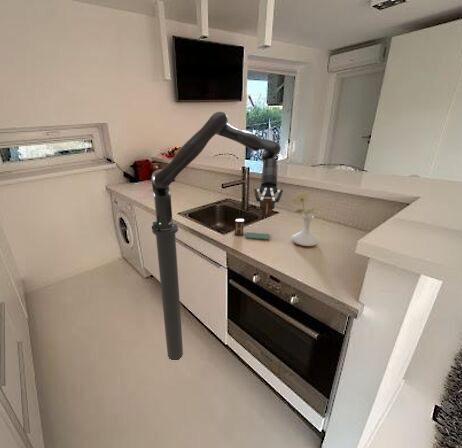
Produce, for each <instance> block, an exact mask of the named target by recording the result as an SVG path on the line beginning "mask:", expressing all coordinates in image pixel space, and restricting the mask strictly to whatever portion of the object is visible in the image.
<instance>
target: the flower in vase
mask: <svg viewBox="0 0 462 448" xmlns="http://www.w3.org/2000/svg"><path fill="white" fill-rule="evenodd" d="M310 199H311V194H310V193H308V192H307V191H304V192H302V191H301V192H300V193H297V195H295V196H294V198H293V199H292V204H294V205H297V206H300V205H302V209H301V208H299V209H297V210H295V211H294V212H293V213H295V214H302V213H303V212H304V213H303V214H302V215H301V216H302V218H303V228H302V230H301V231H299V232H297V233H294V234H293V235H292V236H291V241H292V242H293V243H294V244H297V245H299V246H302V247H313V246H315V245H318V243H319V240H318V238H317V237H316V236H315V235H314V234H313V233H312V232H311V231H310V225H311V222H312V220H313V219H314V218H315V215H313V214H312V213H313V212H314V211H315V207H312V208H309V209H306V210H305V203H307V202H308V201H309V200H310Z"/></svg>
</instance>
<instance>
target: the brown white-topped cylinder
mask: <svg viewBox="0 0 462 448" xmlns="http://www.w3.org/2000/svg"><path fill="white" fill-rule="evenodd" d="M271 206H272V199H271V198H264V199H263V209H261V210H262V211H261V212H262V213H261V217H264V218H265V217H266V218H271V216H272V210H271Z"/></svg>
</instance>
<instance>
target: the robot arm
mask: <svg viewBox="0 0 462 448" xmlns="http://www.w3.org/2000/svg"><path fill="white" fill-rule="evenodd" d="M228 122H229V119H228V115H227V113H225V112H224V111H217V112H214V113H213V114H212V115H211V116H210V117H209V118H208V119H207V121H206V122H205V124H203V126H201V128H200V129H199V130H198V131H197V132H195V133H194V134H193V135H192V136H191V137H189V139H188V140H187V141H186V142H185V143H184V144H183V145H182V146H181V147H180V148H179V149H178V151H176V153H175V155H174V157H173V158H172V160H171V161H170V162H169V163H168V164H167V165H166V166H165V167H164V168H162V169H160V168H159V169H156V170H154V171H153V173H152V174H151V186H152V194H153V201H154V208H155V209H154V216H155V221H152V225H151V230H152V229H154V230H155V229H158V231H167V230H171V229H172V228H173V224H174V223H173V208H172V207H173V206H172V194H171V191H170V190H171V189H170V185H171V184H172V183H173V182H174V180H175V179H176V178H177V176H179V174H180V173H181V172H182V171H184V170H185V168H187V167H188V166H189V165H190V164H191V163H192V162H193V161H194V160H196V158H197V157H198V156H199V155H200V154H201V153H202V152H203V150H204V149H205V148H206V147H207V145H208V143H209V142H210V140H211V139H212V138H213V137H215V136H216V135H218V136H221V137H223V138H226V139H229V140H232V141H234V142H236V143H238V144H240V145H242V146H244V147H246V148H248V149H249V150H252V151H254V152H259V150H263V151H262V153H261V161H262V170H261V171H262V172H261V177H260V187H259V188H254V189H253V193H254V197H255V201H256V202H259V209H261V210H263V199H266V198H270V199H272V206H271V211H273V210H274V209H275V206H276V203H279V202H280V200H281V198H282V196H283V193H284V190H283V189H279V188H278V187H277V185H278V160H276V157H277V156H278V154H279V153H280V152H281V145H280V143H278V142H277V141H276V140H275V141H274V140H271V139H268V138H262V137H260V136H258V135H256V134H254V133H252V132H250V131H246V130H241V129H238V128H235V127H234V126H232V125H230V124H229V123H228ZM276 193H277V197H276V198H275V195H276ZM259 194H261V197H260V196H259Z"/></svg>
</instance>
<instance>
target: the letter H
mask: <svg viewBox="0 0 462 448" xmlns="http://www.w3.org/2000/svg"><path fill="white" fill-rule="evenodd" d="M234 222H235V223H234V236H240V237H243V235H244V227H245V219H244V218H236V219H235V221H234Z"/></svg>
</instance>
